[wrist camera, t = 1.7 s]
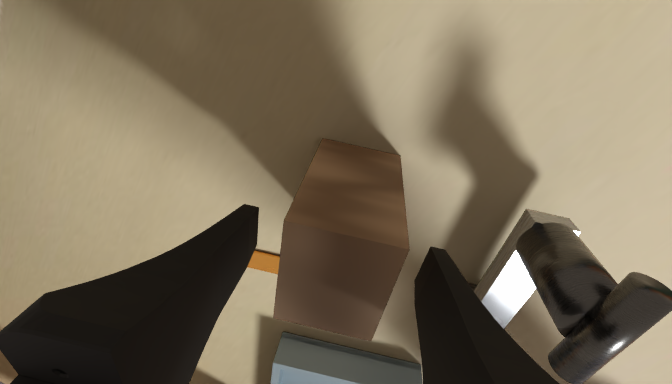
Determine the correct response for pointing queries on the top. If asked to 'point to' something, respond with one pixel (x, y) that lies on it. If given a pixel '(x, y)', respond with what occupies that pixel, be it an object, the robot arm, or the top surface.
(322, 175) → the block
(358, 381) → the tray
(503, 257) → the crank
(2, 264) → the top surface
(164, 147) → the top surface
